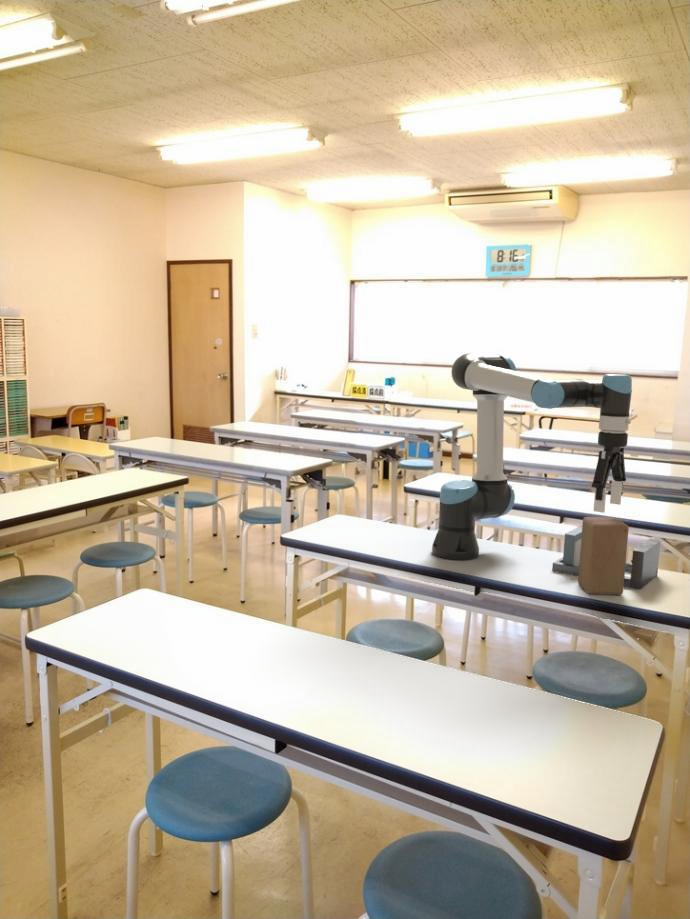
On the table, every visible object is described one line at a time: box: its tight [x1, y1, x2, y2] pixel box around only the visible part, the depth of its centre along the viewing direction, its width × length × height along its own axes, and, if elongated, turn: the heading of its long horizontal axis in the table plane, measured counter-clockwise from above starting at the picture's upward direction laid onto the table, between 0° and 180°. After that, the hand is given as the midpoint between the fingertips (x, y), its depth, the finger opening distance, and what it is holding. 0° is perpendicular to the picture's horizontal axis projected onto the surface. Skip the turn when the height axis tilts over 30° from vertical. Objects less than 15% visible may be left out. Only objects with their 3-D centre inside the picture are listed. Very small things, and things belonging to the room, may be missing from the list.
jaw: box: [562, 526, 582, 566], centre depth 222 cm, size 4×11×11 cm, turn 142°
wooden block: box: [577, 516, 630, 596], centre depth 201 cm, size 10×10×20 cm
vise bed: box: [551, 538, 662, 591], centre depth 217 cm, size 26×17×11 cm, turn 52°
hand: (607, 507), depth 199 cm, fingers open, 13 cm apart
